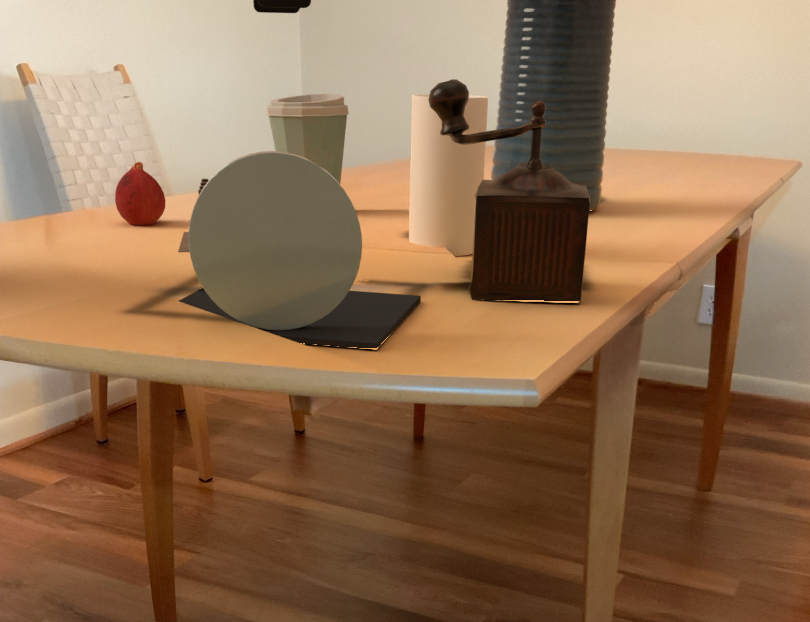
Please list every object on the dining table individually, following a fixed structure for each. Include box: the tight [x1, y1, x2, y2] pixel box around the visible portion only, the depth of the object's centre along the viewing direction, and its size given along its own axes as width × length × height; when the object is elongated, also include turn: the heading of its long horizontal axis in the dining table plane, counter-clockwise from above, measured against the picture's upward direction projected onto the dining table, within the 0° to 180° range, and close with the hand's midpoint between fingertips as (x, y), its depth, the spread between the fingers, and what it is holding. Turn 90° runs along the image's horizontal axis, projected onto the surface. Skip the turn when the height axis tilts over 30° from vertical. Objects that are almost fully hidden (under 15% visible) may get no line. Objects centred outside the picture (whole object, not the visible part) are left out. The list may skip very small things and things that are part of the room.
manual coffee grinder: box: [428, 78, 590, 302], centre depth 85 cm, size 16×11×18 cm
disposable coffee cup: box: [266, 93, 350, 185], centre depth 120 cm, size 11×11×15 cm
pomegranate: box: [114, 161, 166, 227], centre depth 110 cm, size 6×6×8 cm
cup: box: [408, 93, 489, 257], centre depth 102 cm, size 8×8×16 cm
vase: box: [490, 0, 617, 211], centre depth 128 cm, size 16×16×32 cm
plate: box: [188, 150, 363, 331], centre depth 69 cm, size 1×13×13 cm, turn 99°
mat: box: [178, 287, 422, 348], centre depth 78 cm, size 20×16×1 cm
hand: (280, 10), depth 60 cm, fingers open, 9 cm apart
